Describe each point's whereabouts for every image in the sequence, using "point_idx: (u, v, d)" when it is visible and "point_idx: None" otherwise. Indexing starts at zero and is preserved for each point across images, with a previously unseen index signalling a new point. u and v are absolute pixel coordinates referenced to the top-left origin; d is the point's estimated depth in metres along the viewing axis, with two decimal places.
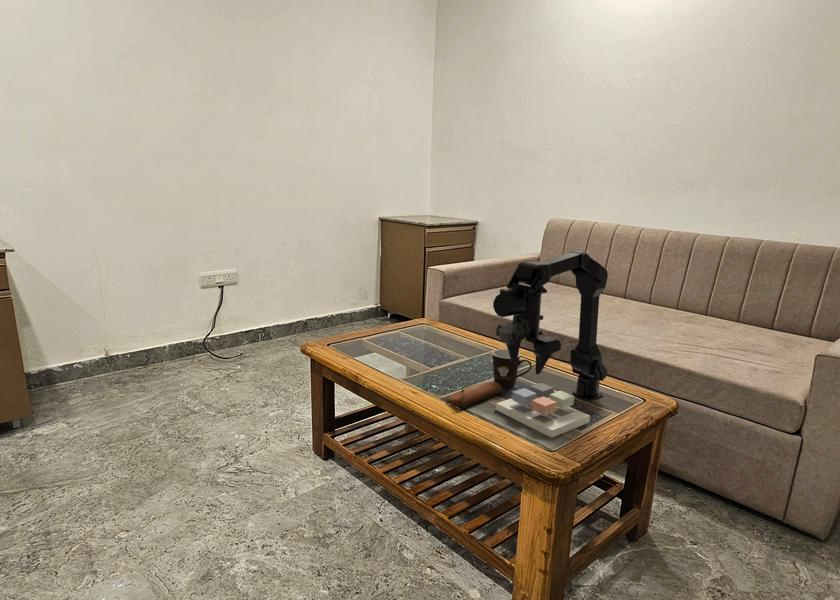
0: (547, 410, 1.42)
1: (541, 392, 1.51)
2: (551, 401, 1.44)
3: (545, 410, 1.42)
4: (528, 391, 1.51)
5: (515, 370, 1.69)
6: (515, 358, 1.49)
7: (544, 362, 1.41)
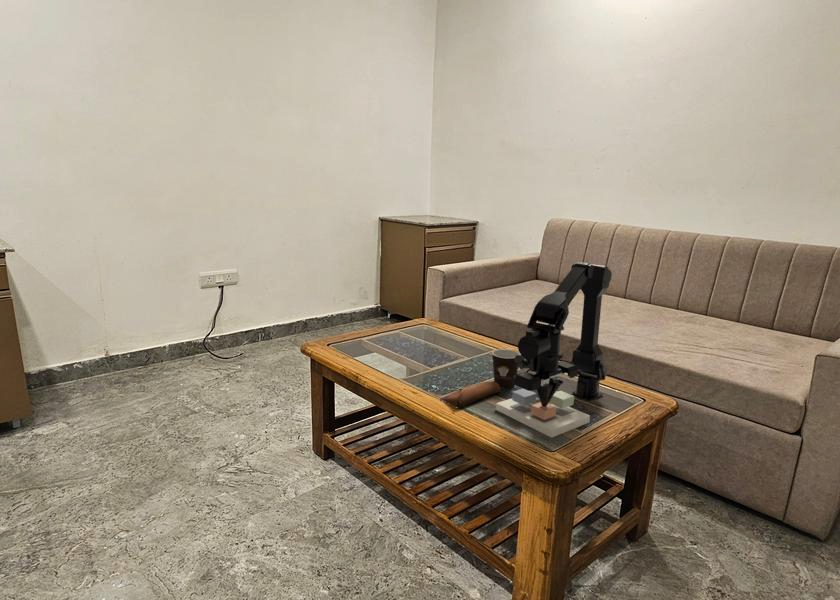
0: (547, 415, 1.43)
1: None
2: (551, 406, 1.45)
3: (545, 415, 1.42)
4: (528, 391, 1.51)
5: (515, 370, 1.69)
6: None
7: (544, 396, 1.43)
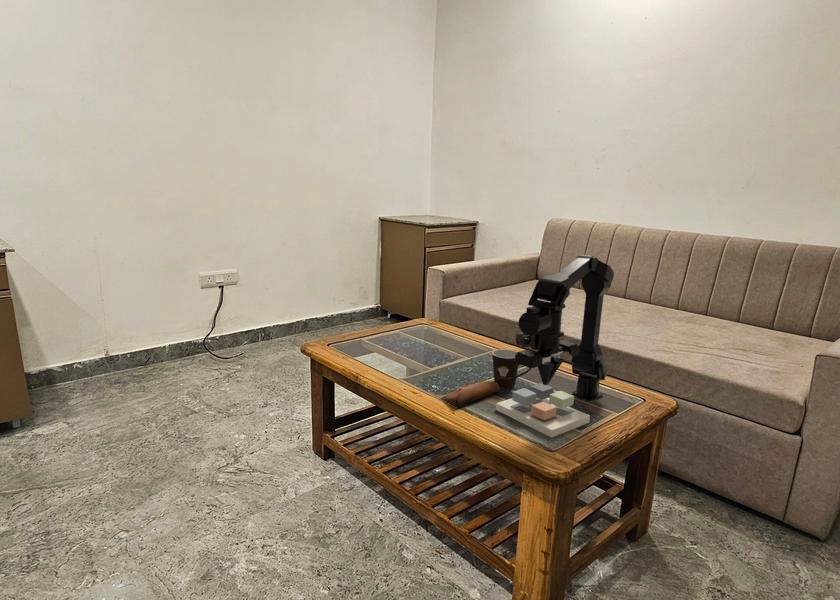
0: (547, 415, 1.43)
1: (541, 392, 1.51)
2: (551, 406, 1.45)
3: (545, 415, 1.42)
4: (528, 391, 1.51)
5: (515, 370, 1.69)
6: None
7: (545, 374, 1.42)
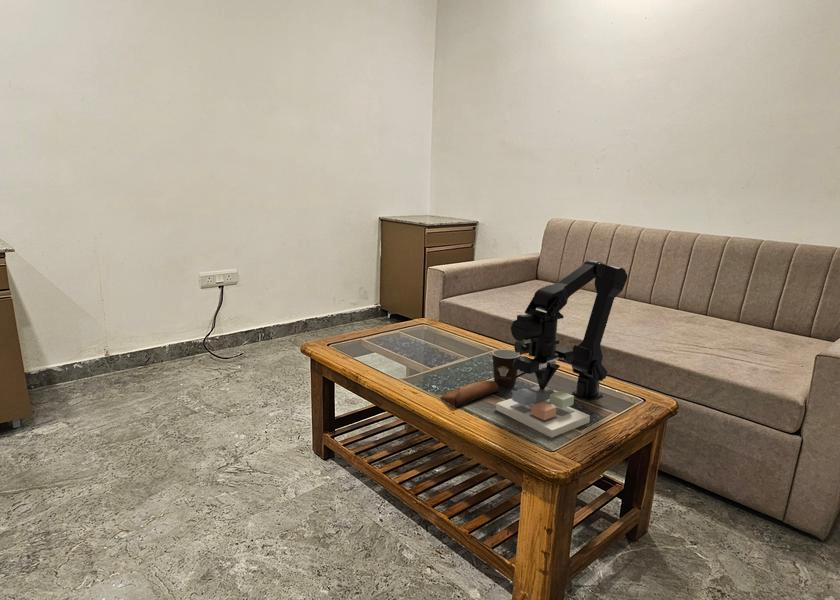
0: (547, 415, 1.43)
1: (541, 394, 1.52)
2: (551, 406, 1.45)
3: (545, 415, 1.42)
4: (528, 391, 1.51)
5: (515, 370, 1.69)
6: None
7: (542, 379, 1.52)
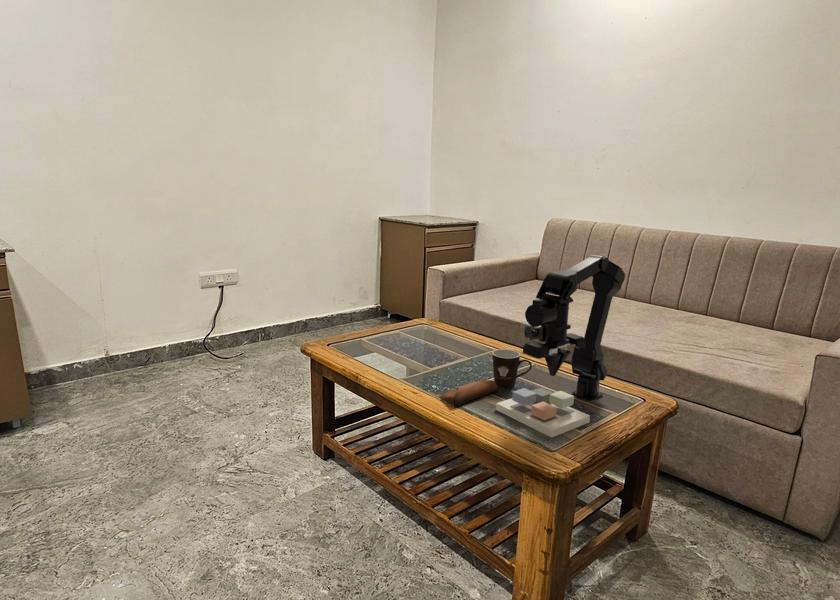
0: (547, 415, 1.43)
1: (541, 397, 1.52)
2: (551, 406, 1.45)
3: (545, 415, 1.42)
4: (528, 391, 1.51)
5: (515, 370, 1.69)
6: None
7: (552, 365, 1.48)
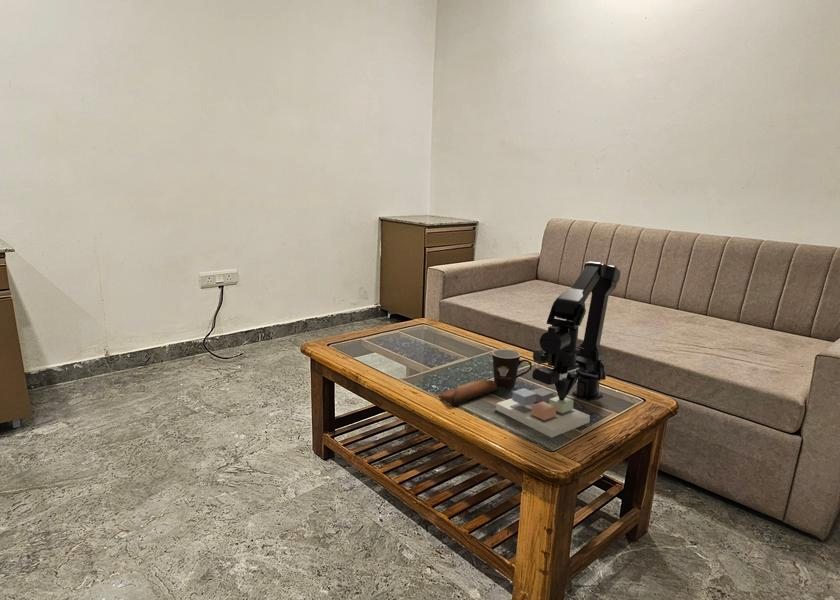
0: (547, 415, 1.43)
1: (541, 397, 1.52)
2: (551, 406, 1.45)
3: (545, 415, 1.42)
4: (528, 391, 1.51)
5: (515, 370, 1.69)
6: None
7: (561, 390, 1.47)
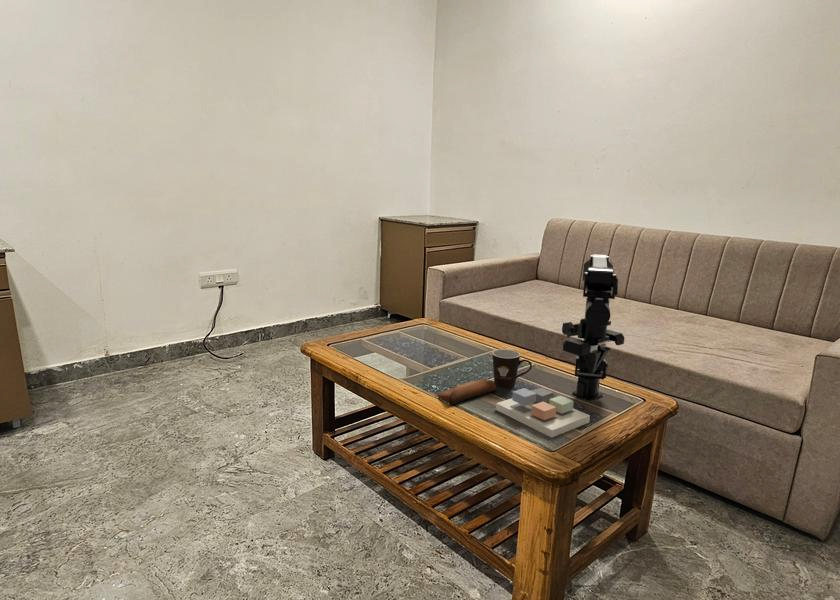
0: (547, 415, 1.43)
1: (541, 397, 1.52)
2: (551, 406, 1.45)
3: (545, 415, 1.42)
4: (528, 391, 1.51)
5: (515, 370, 1.69)
6: None
7: (592, 363, 1.45)
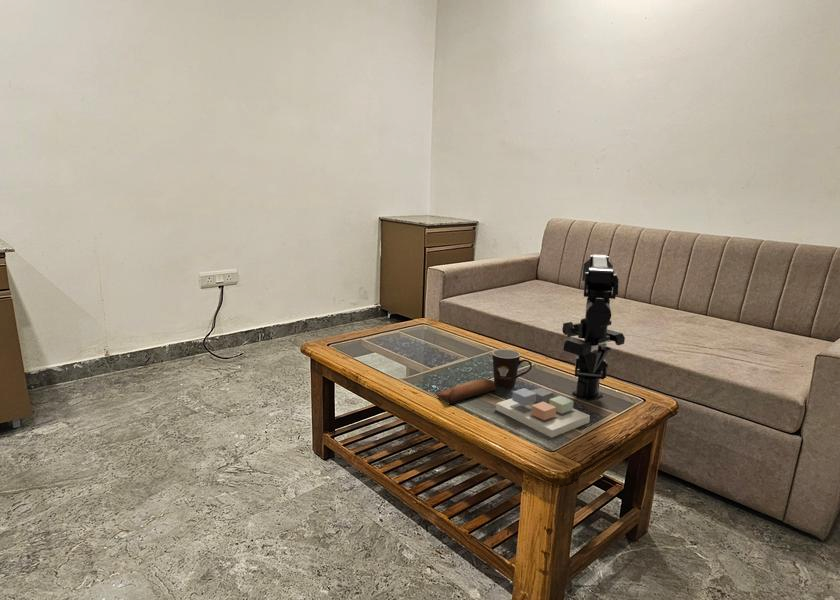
0: (547, 415, 1.43)
1: (541, 397, 1.52)
2: (551, 406, 1.45)
3: (545, 415, 1.42)
4: (528, 391, 1.51)
5: (515, 370, 1.69)
6: None
7: (592, 363, 1.45)
